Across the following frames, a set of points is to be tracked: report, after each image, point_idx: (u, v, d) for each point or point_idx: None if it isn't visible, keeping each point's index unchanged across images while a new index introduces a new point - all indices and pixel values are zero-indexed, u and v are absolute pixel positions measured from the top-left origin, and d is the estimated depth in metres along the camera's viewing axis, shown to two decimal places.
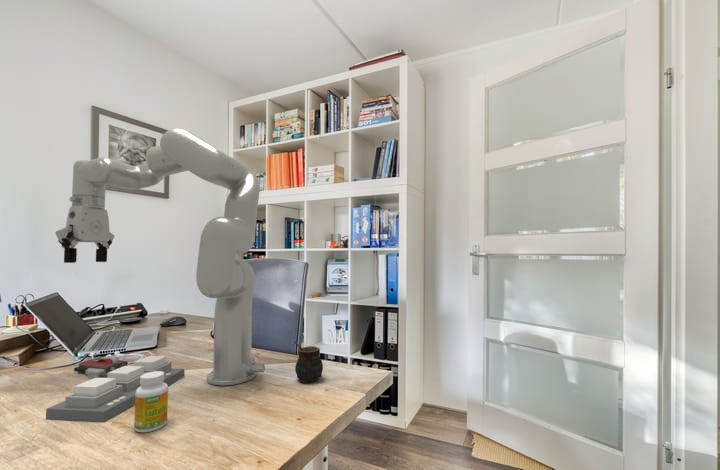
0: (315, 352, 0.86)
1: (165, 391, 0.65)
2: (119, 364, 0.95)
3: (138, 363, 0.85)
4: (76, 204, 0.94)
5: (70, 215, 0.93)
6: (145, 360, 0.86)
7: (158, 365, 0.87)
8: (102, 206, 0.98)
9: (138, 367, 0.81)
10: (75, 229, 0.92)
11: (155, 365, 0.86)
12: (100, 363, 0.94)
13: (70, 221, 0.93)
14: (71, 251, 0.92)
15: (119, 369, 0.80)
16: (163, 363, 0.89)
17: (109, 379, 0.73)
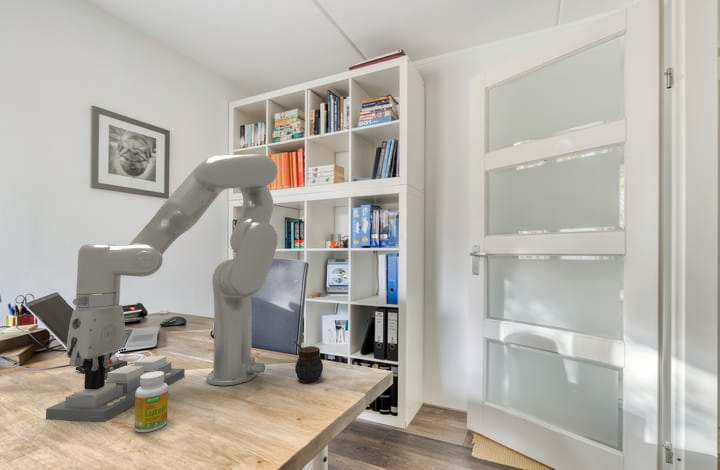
0: (315, 352, 0.86)
1: (165, 391, 0.65)
2: (118, 364, 0.95)
3: (138, 363, 0.85)
4: (82, 307, 0.69)
5: (73, 323, 0.68)
6: (145, 360, 0.86)
7: (158, 365, 0.87)
8: (116, 304, 0.73)
9: (138, 367, 0.81)
10: (80, 344, 0.67)
11: (155, 365, 0.86)
12: None
13: (73, 332, 0.67)
14: (94, 374, 0.71)
15: (119, 369, 0.80)
16: (163, 363, 0.89)
17: (109, 384, 0.73)
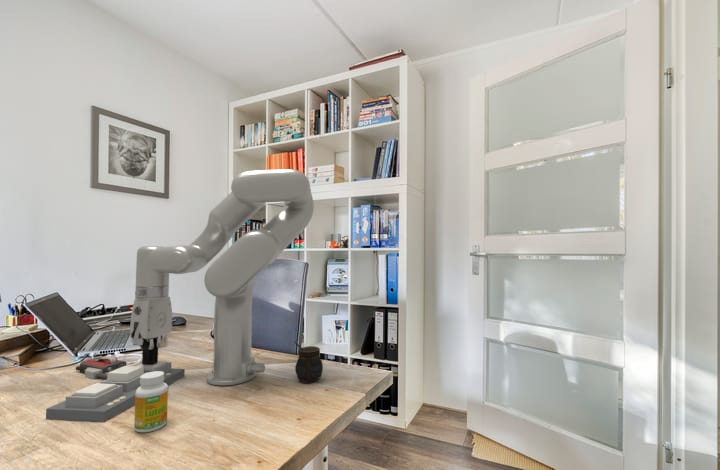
0: (315, 352, 0.86)
1: (165, 391, 0.65)
2: (117, 364, 0.95)
3: None
4: (141, 297, 0.85)
5: (135, 310, 0.84)
6: (145, 365, 0.86)
7: None
8: (167, 295, 0.89)
9: (138, 367, 0.81)
10: (141, 327, 0.83)
11: None
12: (99, 363, 0.95)
13: (135, 318, 0.83)
14: (150, 352, 0.87)
15: (119, 369, 0.80)
16: None
17: (109, 385, 0.73)
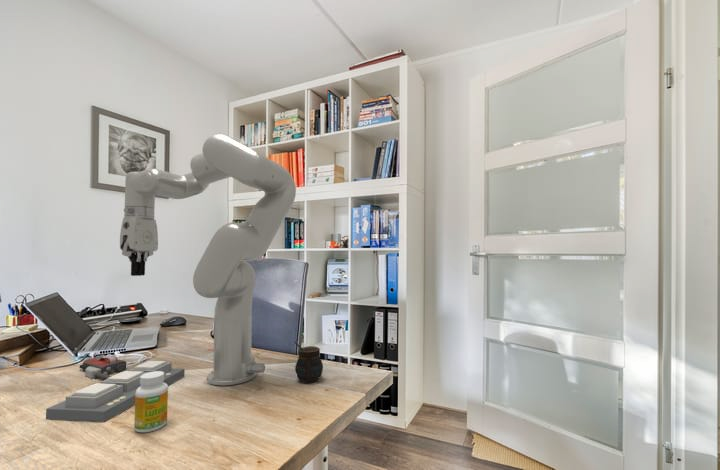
0: (315, 352, 0.86)
1: (165, 391, 0.65)
2: (116, 364, 0.95)
3: (138, 368, 0.85)
4: (129, 215, 0.96)
5: (124, 226, 0.96)
6: (145, 365, 0.86)
7: None
8: (152, 216, 1.01)
9: (138, 372, 0.81)
10: (129, 239, 0.95)
11: None
12: (100, 362, 0.95)
13: (124, 231, 0.95)
14: (138, 265, 0.98)
15: (119, 374, 0.80)
16: None
17: (109, 385, 0.73)
